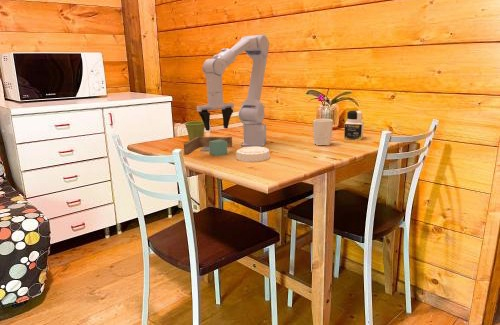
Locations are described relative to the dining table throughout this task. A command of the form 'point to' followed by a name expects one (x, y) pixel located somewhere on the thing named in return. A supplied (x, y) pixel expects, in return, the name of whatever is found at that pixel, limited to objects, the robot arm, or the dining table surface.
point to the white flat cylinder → (253, 154)
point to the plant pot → (195, 129)
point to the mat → (205, 149)
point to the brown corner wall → (203, 143)
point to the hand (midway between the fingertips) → (216, 129)
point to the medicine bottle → (354, 126)
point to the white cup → (322, 131)
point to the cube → (218, 147)
